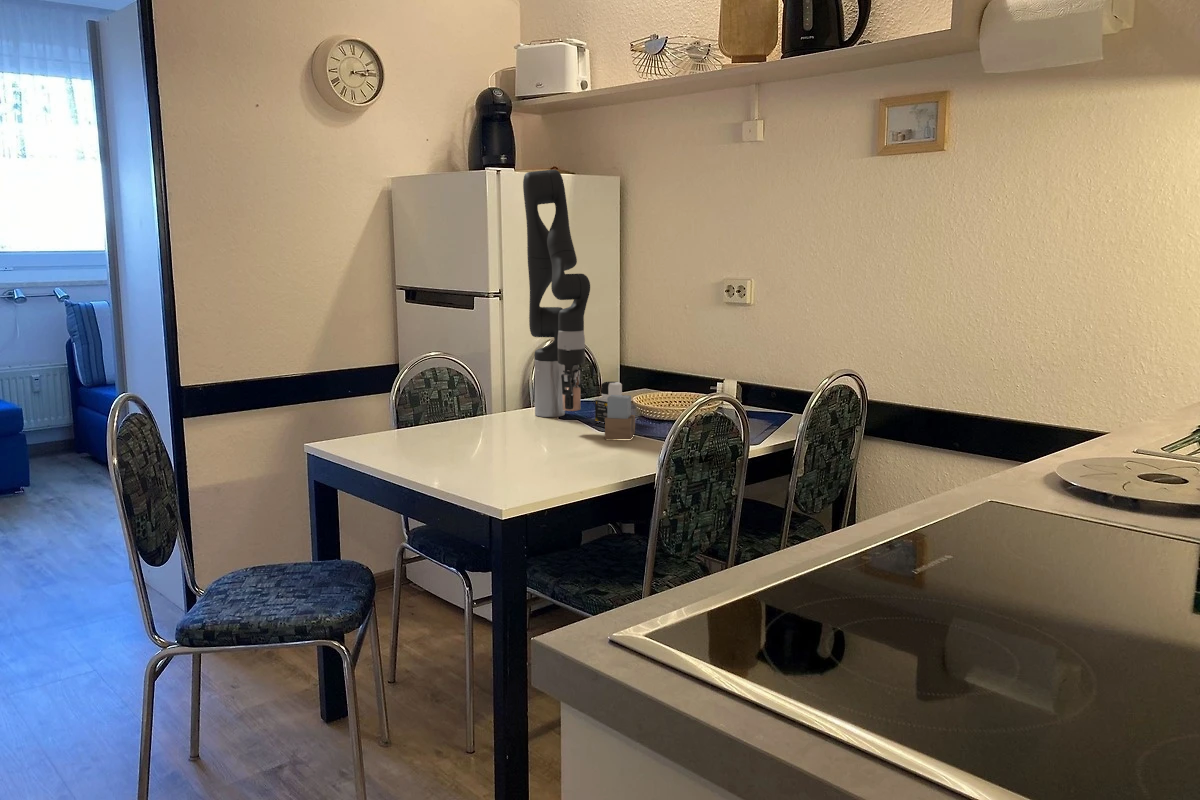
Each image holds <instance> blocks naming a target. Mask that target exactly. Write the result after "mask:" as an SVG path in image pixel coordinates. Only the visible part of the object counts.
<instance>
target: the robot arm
mask: <svg viewBox="0 0 1200 800" xmlns="http://www.w3.org/2000/svg"><path fill="white" fill-rule="evenodd" d="M564 183H565V182H564V179H563V177H562V173H561V172H560V171H559V170H557V169H544V170H535V171H534V170H533V171H528V172H526V173H525V174H524V175H523V181H522V187H523V188H522V189H523V200H524V208H525V218H526V228H527V229H526V236H527V237H526V239H527V241H526V242H527V243H526V244H527V247H526V248H527V250H526V251H527V252H526V253H527V267H528V268H527V270H528V283H529V313H528V314H529V315H528V316H529V317H528V319H529V320H528V321H529V322H528V323H529V324H528V325H529V326H528V327H529V331H530V335H531V336H532V337H534V338H554V340H553V341H552V342H551V343H550V344H548V345H546V346H543V347H541V348H537V349H535V351H534V415H535V416H537V417H543V418H557V417H563V416H565V414H566V411H565V410H563V395H564V396H565V408H566V409H573V395H574V388H575V387H580V388H581V378H582V377H581V376H582V375H581V374H582V368H581V367H579V365H583V364H585V362H586V358H585V357H586V356H585V355H586V352H585V351H586V349H585V348H586V338H585V331H584V330H585V326H584V325H585V322H584V321H585V313H586V308H587V304H588V299H589V297H590V296H589V295H590V292H591V282H590V279H589V278H588V276H587V275H586V274H584V273H565V271H568V270H571V269H573V268H574V267H575V266H576V265H577V264H578V257H577V255H576V251H575V246H574V243H573V239H572V236H571V229H570V228H571V227H570V221H569V220H570V219H569V212H568V211H569V210H568V204H567V197H566V196H567V195H566V189H565V185H564ZM545 204H546V205H548V204H554V206H555V214H554V218H553V219H552V223H551V225H550V228H549V229H548V228H547V227H546V225H545V224H544V222H543V221H542V219H541V216H540V213H539V209H538V207H539V205H545ZM550 285H551V286H550ZM549 286H550V287H551V292H552V295H553V296H554V297H555V299H557V300H560V301H568V300H569V301H571V300H573V301H572V303H571V305H570V306H568V307H566V308H562V307H560V306H540V305H541V301H542V298H543V296H544V294H545V293H546V290H547V289H548V287H549ZM567 388H569V390H567Z"/></svg>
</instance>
